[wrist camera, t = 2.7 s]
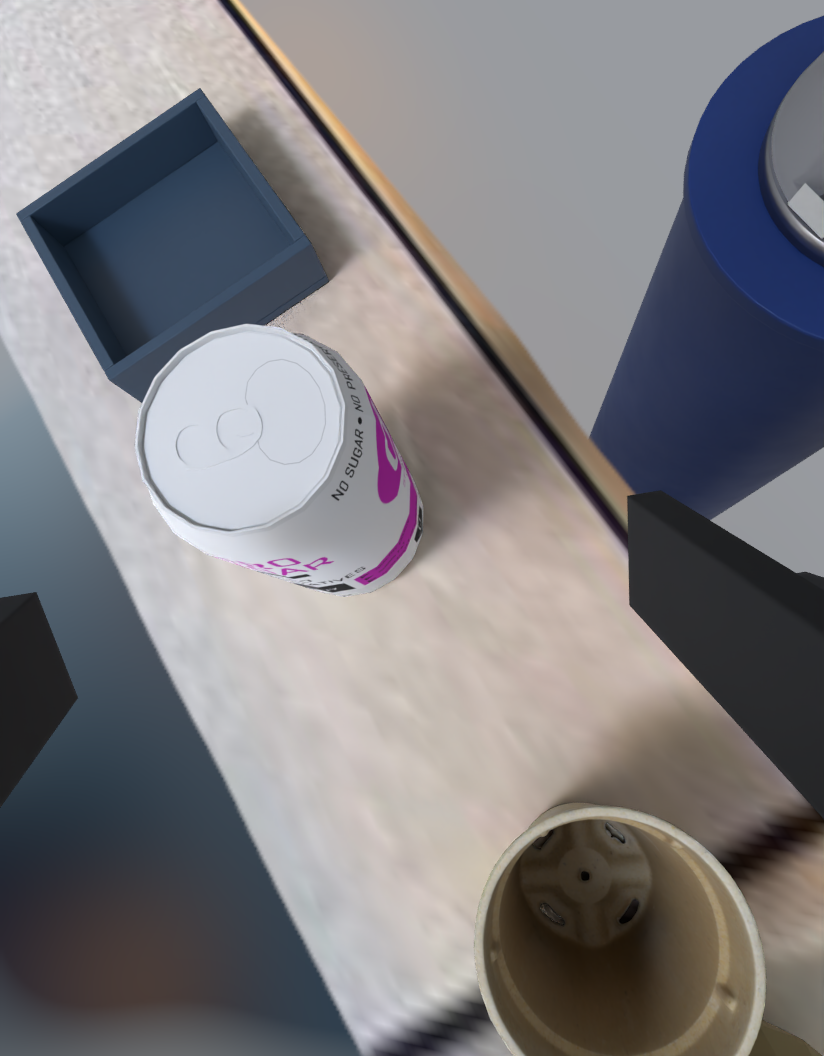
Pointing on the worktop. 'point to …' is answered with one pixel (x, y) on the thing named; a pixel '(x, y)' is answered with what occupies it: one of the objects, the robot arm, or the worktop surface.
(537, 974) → the flower pot
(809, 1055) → the squeeze bottle
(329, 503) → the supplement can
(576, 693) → the worktop surface
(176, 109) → the blue open tray
